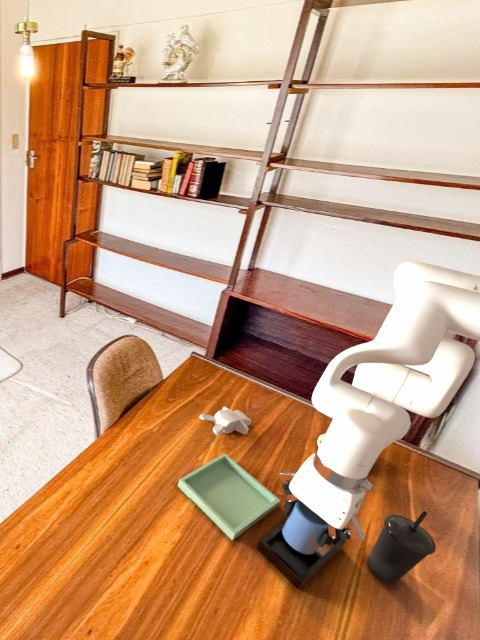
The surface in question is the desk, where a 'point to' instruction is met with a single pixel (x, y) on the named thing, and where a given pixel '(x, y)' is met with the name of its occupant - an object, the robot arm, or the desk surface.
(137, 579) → the desk surface
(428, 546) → the drinking cup
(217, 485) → the tray
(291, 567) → the black divided tray
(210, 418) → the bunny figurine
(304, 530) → the blue cup
